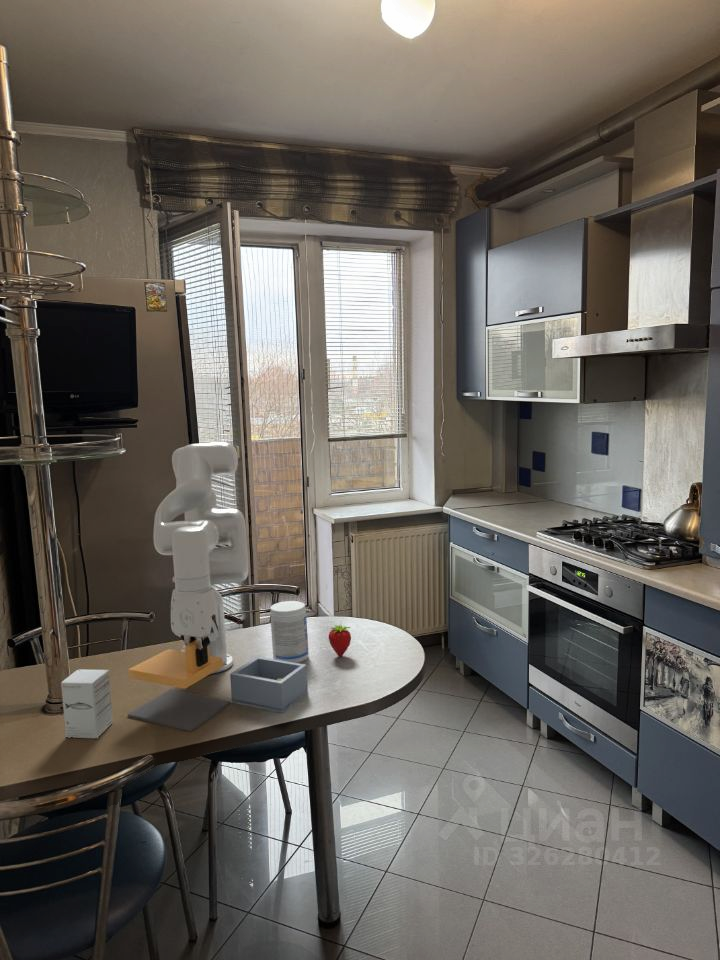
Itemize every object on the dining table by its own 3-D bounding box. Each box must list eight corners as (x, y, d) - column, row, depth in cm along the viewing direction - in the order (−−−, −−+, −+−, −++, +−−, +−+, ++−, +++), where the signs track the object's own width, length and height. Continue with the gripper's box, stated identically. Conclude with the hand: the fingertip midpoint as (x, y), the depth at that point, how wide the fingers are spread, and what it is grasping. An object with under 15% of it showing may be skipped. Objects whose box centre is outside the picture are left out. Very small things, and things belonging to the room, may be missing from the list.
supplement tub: (315, 659, 182) (312, 606, 180) (283, 668, 177) (280, 614, 175) (297, 649, 190) (295, 598, 188) (267, 657, 185) (263, 605, 183)
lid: (129, 677, 152) (125, 643, 151) (169, 657, 163) (166, 624, 162) (185, 688, 145) (182, 652, 144) (222, 666, 156) (220, 632, 155)
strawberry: (346, 649, 188) (345, 614, 186) (355, 659, 181) (354, 623, 179) (326, 653, 186) (324, 618, 184) (334, 663, 179) (332, 626, 177)
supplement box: (64, 738, 145) (59, 682, 143) (83, 721, 152) (78, 667, 150) (97, 740, 143) (91, 683, 142) (114, 722, 151) (109, 668, 149)
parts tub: (231, 702, 158) (230, 673, 157) (258, 683, 168) (257, 656, 167) (282, 713, 152) (281, 683, 151) (307, 692, 162) (306, 664, 161)
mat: (127, 716, 153) (127, 714, 153) (170, 691, 166) (170, 688, 166) (190, 731, 145) (190, 728, 145) (230, 703, 158) (230, 701, 158)
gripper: (153, 584, 149) (159, 665, 151) (210, 591, 142) (216, 675, 144) (176, 576, 155) (182, 653, 158) (232, 581, 149) (237, 662, 151)
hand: (198, 663), depth 151 cm, fingers closed on lid, 1 cm apart
